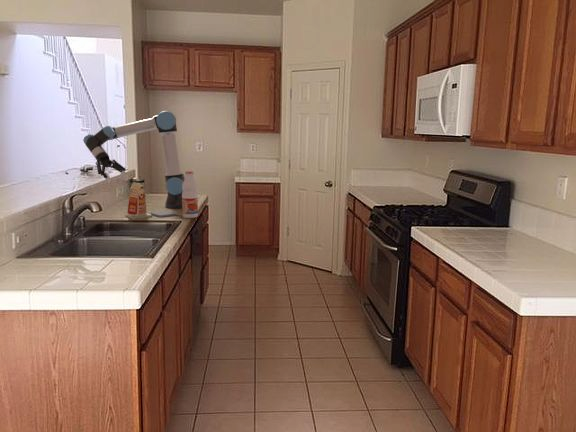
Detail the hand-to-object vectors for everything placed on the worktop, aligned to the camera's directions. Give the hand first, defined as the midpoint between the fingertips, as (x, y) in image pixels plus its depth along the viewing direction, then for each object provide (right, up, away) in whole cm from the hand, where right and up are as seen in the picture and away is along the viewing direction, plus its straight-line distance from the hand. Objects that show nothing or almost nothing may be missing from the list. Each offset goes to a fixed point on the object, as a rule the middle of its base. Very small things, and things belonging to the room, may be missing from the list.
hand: (119, 180), depth 301 cm
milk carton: (+13, -21, -4) cm, 25 cm away
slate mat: (+27, -21, +4) cm, 35 cm away
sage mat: (+13, -22, -3) cm, 26 cm away
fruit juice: (+44, -23, -1) cm, 50 cm away
